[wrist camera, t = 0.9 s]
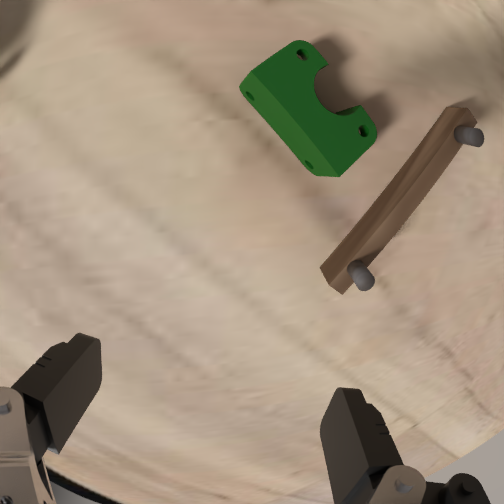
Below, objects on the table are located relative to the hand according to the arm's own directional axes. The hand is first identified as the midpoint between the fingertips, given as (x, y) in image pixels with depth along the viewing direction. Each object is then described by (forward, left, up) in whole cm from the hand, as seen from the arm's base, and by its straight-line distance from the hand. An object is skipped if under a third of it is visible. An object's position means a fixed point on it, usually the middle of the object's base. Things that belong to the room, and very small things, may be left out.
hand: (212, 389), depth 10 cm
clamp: (0, +12, -24) cm, 27 cm away
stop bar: (+13, +12, -24) cm, 30 cm away
